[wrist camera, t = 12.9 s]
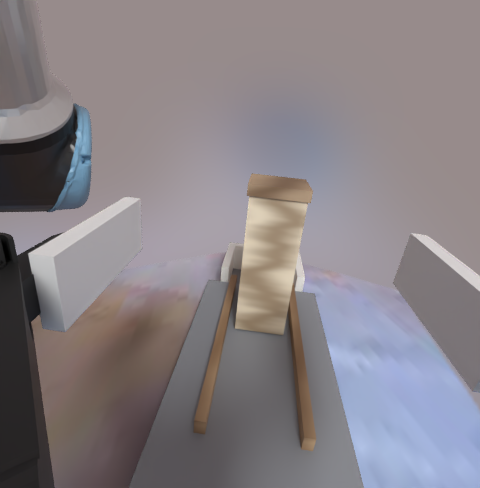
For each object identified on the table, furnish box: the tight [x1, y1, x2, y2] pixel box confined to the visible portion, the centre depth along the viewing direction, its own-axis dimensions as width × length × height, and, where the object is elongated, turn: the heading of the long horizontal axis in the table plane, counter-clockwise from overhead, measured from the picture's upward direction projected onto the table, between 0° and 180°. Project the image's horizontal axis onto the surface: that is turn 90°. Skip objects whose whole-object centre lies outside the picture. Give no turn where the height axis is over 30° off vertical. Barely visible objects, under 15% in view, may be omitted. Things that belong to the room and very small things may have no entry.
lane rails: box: [193, 275, 316, 451], centre depth 30 cm, size 8×21×1 cm, turn 174°
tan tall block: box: [235, 174, 313, 335], centre depth 32 cm, size 5×8×15 cm, turn 174°
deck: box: [129, 280, 364, 488], centre depth 29 cm, size 14×26×2 cm, turn 174°
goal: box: [220, 242, 305, 292], centre depth 45 cm, size 11×9×4 cm
